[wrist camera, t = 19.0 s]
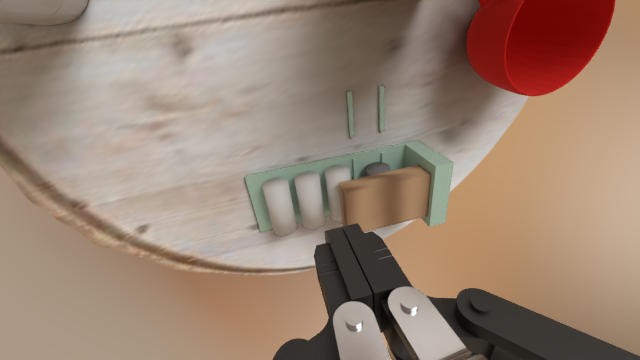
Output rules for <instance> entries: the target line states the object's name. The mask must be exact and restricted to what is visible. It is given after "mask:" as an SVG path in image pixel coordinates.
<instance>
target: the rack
mask: <svg viewBox="0 0 640 360" xmlns="http://www.w3.org/2000/svg"><path fill="white" fill-rule="evenodd" d="M347 107H348V122H349V137H350V138H351V137H355V136H354V119H353V101H352V91H348V92H347ZM379 131H380V132H382V131H384V86H383V85H382V86H379Z"/></svg>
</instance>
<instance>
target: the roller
mask: <svg viewBox="0 0 640 360" xmlns="http://www.w3.org/2000/svg"><path fill="white" fill-rule="evenodd" d="M389 171H390V166H389V165H388V164H386V163H383V162H374V163H370V164H368V165H367V166H366V177H367V176H371V175H376V174H380V173H385V172H389Z"/></svg>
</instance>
